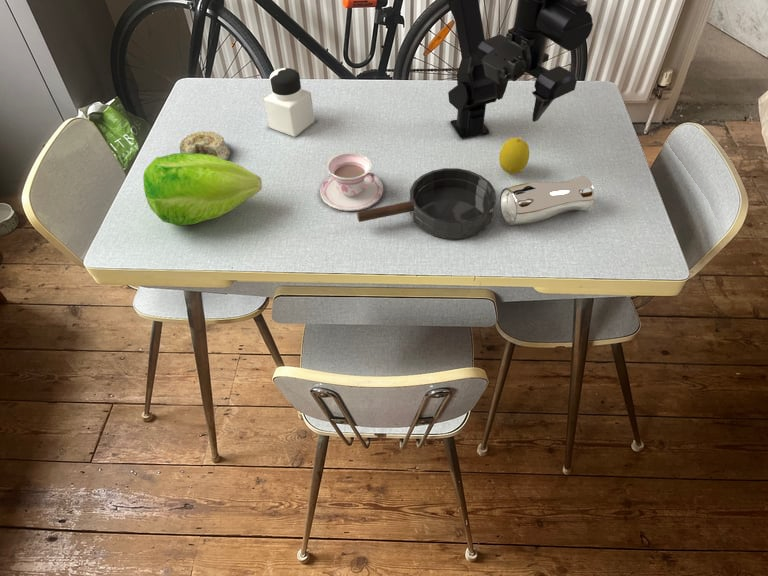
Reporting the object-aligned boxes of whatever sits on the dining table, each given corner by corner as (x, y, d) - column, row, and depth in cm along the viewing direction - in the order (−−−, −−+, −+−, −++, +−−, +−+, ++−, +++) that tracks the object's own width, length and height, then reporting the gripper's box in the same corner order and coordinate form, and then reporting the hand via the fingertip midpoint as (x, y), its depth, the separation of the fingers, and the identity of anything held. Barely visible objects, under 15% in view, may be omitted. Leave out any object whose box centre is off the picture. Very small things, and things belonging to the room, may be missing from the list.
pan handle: (356, 217, 100) (356, 209, 99) (411, 206, 102) (411, 198, 101) (359, 224, 99) (358, 216, 98) (414, 212, 101) (414, 205, 100)
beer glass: (587, 166, 100) (508, 179, 97) (601, 201, 98) (521, 216, 95) (569, 184, 107) (495, 197, 104) (582, 218, 105) (507, 232, 102)
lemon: (525, 183, 109) (532, 148, 103) (495, 180, 110) (501, 145, 104) (526, 166, 113) (533, 131, 107) (497, 163, 114) (503, 128, 108)
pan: (399, 194, 108) (399, 176, 105) (474, 179, 111) (476, 161, 108) (425, 248, 98) (425, 230, 95) (507, 230, 101) (510, 212, 98)
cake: (179, 150, 120) (172, 126, 116) (227, 141, 122) (221, 117, 118) (182, 174, 113) (174, 150, 109) (233, 164, 115) (227, 140, 111)
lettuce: (265, 235, 101) (252, 180, 92) (149, 244, 100) (125, 190, 91) (267, 186, 111) (256, 132, 102) (161, 194, 109) (140, 141, 100)
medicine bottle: (315, 121, 125) (308, 69, 116) (295, 137, 121) (286, 85, 112) (289, 112, 128) (281, 61, 119) (269, 128, 124) (258, 76, 115)
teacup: (309, 203, 107) (305, 176, 102) (336, 166, 114) (333, 140, 109) (368, 218, 104) (367, 191, 99) (392, 179, 111) (392, 152, 106)
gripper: (456, 17, 95) (450, 101, 107) (538, 61, 85) (520, 149, 97) (506, -1, 99) (494, 83, 111) (589, 40, 89) (566, 127, 101)
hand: (516, 109), depth 105 cm, fingers open, 9 cm apart
